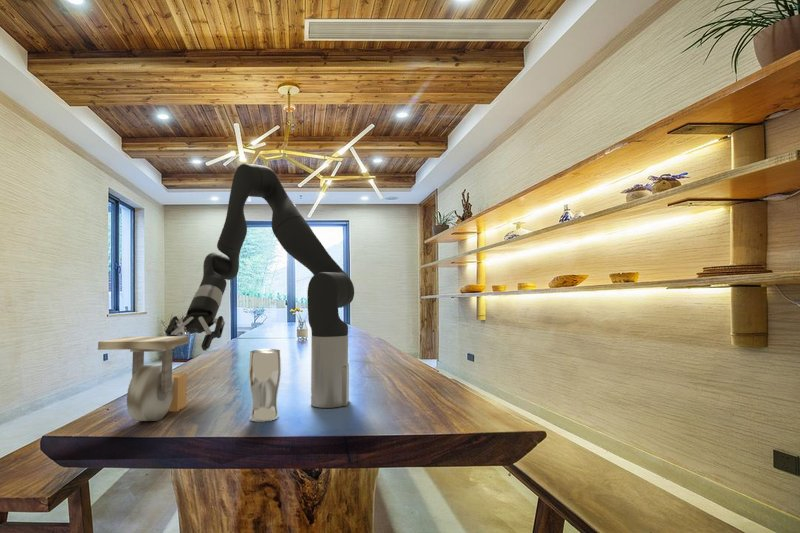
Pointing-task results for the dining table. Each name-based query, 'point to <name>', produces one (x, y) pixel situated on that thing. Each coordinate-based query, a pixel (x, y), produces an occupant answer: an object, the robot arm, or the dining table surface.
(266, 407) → the beer glass
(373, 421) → the dining table surface
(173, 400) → the orange tan block
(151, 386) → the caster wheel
